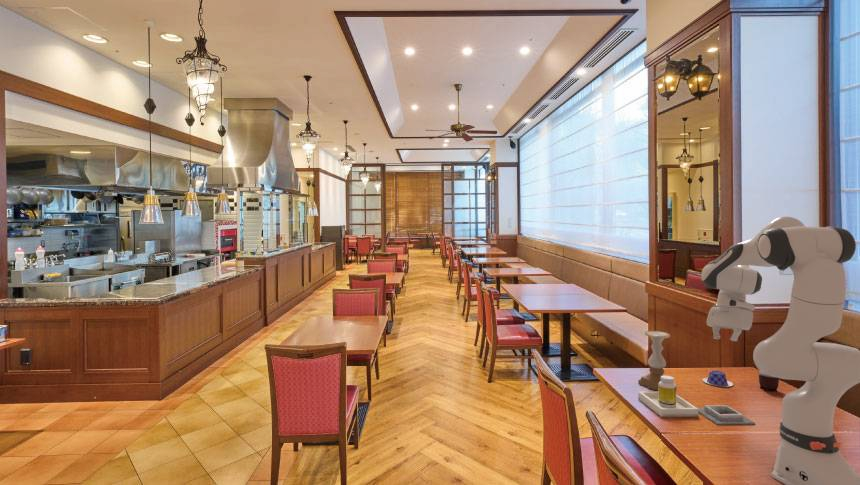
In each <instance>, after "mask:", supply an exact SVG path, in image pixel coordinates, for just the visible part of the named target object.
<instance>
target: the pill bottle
mask: <svg viewBox="0 0 860 485" xmlns="http://www.w3.org/2000/svg"><path fill="white" fill-rule="evenodd" d="M663 375H664V374H663ZM674 383H675V378H674V377H673V376H671V375H664V376H661V381H660V382H659V384H658V403H659V404H660V405H662V406H665V407H675V406H676V394H677V385H676V383H675V384H674Z"/></svg>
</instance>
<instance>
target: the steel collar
mask: <svg viewBox="0 0 860 485" xmlns="http://www.w3.org/2000/svg"><path fill="white" fill-rule="evenodd" d="M697 408H698V414H700V415H701V416H703V417H705V418H706V419H707V420H709V421H710V422H712V423H714V424H715V425H716V426H720V425H721V426H723V425H725V426H733V425H734V426H735V425H741V426H742V425H743V426H747V425H752V426H753V425H754V426H755V425H756V422H754V421H753V420H751V419H750V418H748V417H746V416H744V414H743V413H740V412H739V411H737V410H736V409H734V408H732V407H731V406H729V405H728V404H727V405H724V404H723V405H722V404H721V405H720V404H718V405H717V404H714V405H713V404H712V405H707V404H706V405H704V407H697Z"/></svg>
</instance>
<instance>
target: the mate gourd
mask: <svg viewBox="0 0 860 485" xmlns="http://www.w3.org/2000/svg"><path fill="white" fill-rule="evenodd" d="M758 383H759V385H760V386H759V389H762V390H765V392H766V393H767V392H770V391H771V392H775V393H777V392H778V389H779V388H778V387H779V383H780V378H777V377H773V376H769V375H766V374H763V373H762V372H761V371H759V374H758Z"/></svg>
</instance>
